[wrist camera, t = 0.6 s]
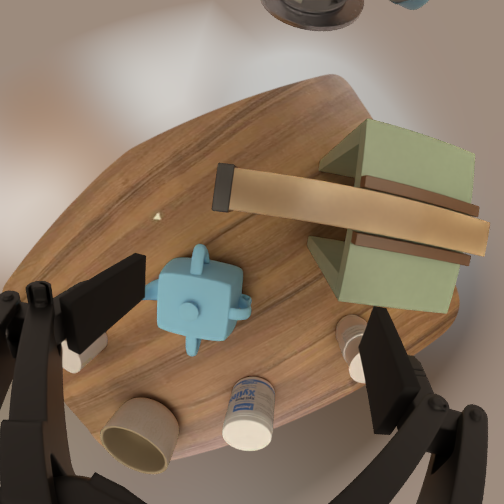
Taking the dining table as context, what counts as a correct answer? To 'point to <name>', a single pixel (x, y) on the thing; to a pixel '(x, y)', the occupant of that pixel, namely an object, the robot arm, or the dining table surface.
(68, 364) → the white cylinder
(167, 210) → the dining table surface
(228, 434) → the supplement tub
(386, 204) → the slide bar
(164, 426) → the planter
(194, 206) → the dining table surface
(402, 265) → the shelf stand
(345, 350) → the candle
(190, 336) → the teapot
